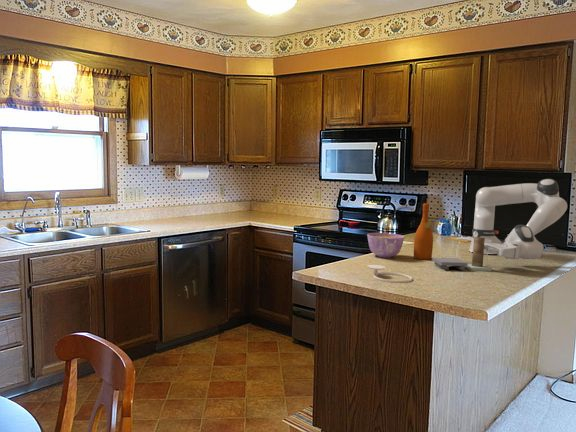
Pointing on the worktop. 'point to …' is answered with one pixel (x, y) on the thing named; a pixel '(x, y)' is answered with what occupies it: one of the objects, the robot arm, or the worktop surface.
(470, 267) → the board
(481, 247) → the walnut roller
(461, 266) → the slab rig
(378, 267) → the hand towel holder
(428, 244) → the wine bottle
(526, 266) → the worktop surface
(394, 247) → the bowl of food
